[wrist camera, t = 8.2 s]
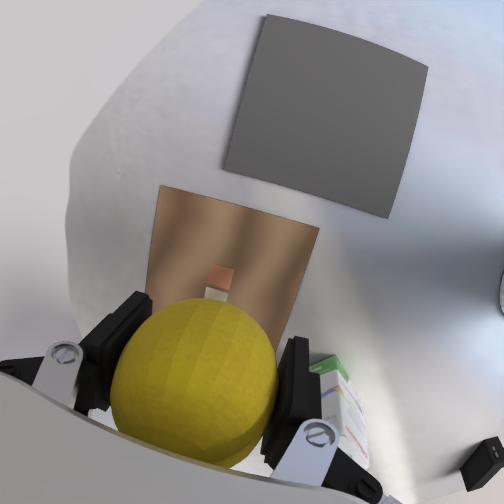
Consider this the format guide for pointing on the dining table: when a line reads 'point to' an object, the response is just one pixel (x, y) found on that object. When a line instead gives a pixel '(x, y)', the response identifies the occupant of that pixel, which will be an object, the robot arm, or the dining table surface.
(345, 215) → the dining table surface
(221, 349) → the lemon
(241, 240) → the board
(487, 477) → the digital camera
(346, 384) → the ink box
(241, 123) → the rubber mat
